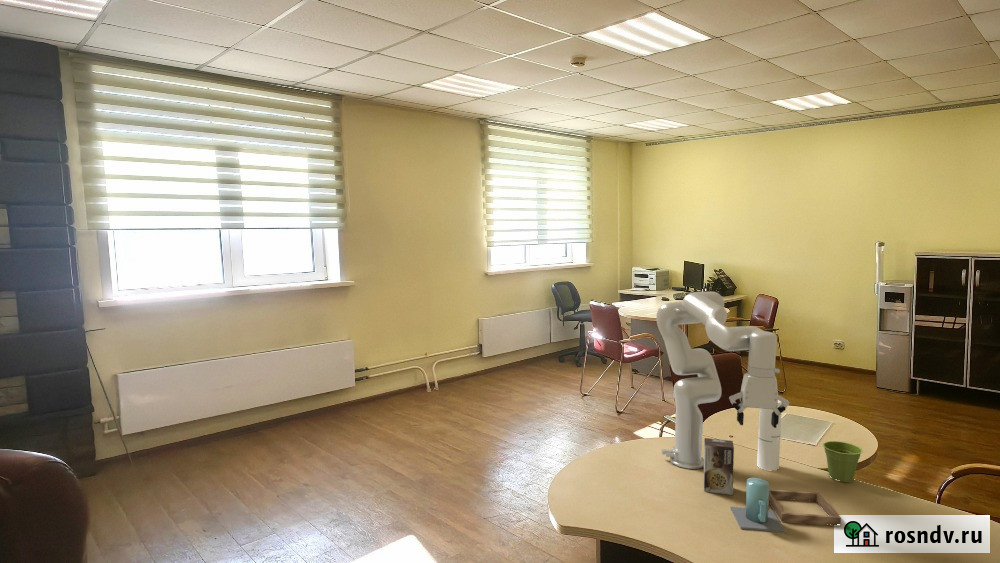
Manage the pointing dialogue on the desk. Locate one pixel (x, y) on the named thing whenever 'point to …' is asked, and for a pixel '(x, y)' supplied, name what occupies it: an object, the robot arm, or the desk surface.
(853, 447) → the plant pot
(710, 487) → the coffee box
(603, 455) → the desk surface
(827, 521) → the brown wooden square frame
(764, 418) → the cylindrical container
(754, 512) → the teal mug
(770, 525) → the rubber mat
